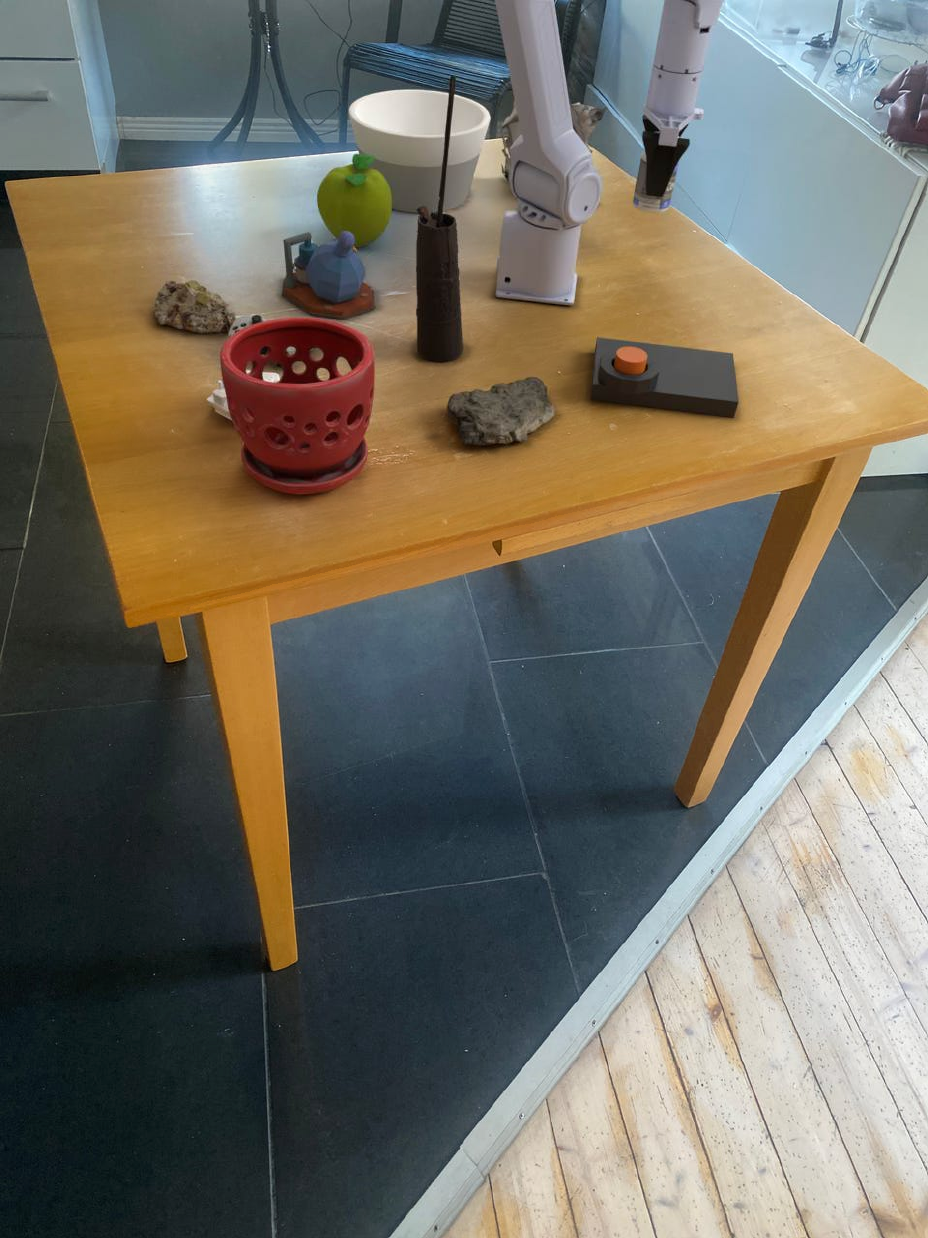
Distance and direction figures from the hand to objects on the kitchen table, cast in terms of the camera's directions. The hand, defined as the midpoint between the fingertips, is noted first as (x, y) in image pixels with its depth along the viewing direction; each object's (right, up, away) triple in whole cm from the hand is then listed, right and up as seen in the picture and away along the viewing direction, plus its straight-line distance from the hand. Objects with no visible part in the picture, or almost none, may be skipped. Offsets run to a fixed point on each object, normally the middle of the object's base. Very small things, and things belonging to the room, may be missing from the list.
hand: (654, 187), depth 119 cm
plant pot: (-39, -40, -30) cm, 63 cm away
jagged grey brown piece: (-12, +8, +19) cm, 24 cm away
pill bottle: (0, -2, +2) cm, 3 cm away
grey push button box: (-3, -29, -17) cm, 33 cm away
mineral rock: (-54, -20, -12) cm, 59 cm away
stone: (-20, -34, -23) cm, 46 cm away
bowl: (-31, +6, +16) cm, 35 cm away
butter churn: (-28, -24, -14) cm, 39 cm away
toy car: (-46, -33, -24) cm, 61 cm away
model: (-40, -16, -6) cm, 44 cm away
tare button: (-7, -28, -21) cm, 36 cm away
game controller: (-45, -25, -16) cm, 54 cm away
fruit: (-38, -5, +4) cm, 39 cm away
